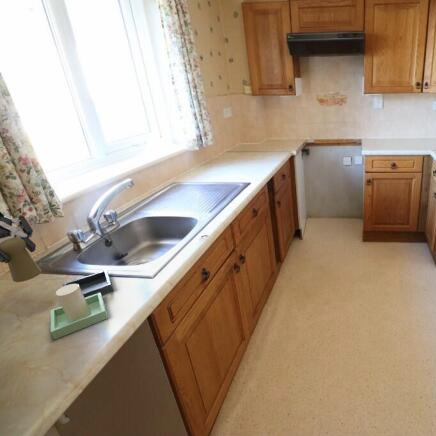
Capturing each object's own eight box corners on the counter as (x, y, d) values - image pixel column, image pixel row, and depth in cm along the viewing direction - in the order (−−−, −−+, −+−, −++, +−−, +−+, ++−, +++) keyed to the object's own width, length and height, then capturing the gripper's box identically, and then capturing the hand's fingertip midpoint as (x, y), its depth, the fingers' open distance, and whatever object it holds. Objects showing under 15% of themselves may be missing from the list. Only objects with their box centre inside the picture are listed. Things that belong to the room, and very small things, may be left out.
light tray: (54, 339, 80) (50, 332, 79) (53, 317, 88) (50, 310, 87) (108, 318, 87) (105, 310, 86) (103, 299, 94) (100, 292, 93)
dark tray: (67, 308, 91) (63, 301, 90) (65, 290, 99) (62, 283, 98) (113, 291, 98) (111, 284, 97) (109, 275, 105) (106, 269, 104)
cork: (46, 268, 91) (30, 233, 86) (32, 280, 86) (14, 244, 81) (22, 270, 90) (4, 236, 86) (7, 283, 85) (-13, 247, 80)
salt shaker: (69, 325, 84) (55, 298, 80) (68, 315, 88) (55, 288, 84) (92, 316, 87) (79, 289, 83) (90, 307, 90) (78, 281, 87)
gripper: (-66, 211, 75) (-12, 262, 76) (7, 191, 88) (53, 235, 89) (-66, 228, 79) (-14, 277, 80) (4, 207, 92) (48, 249, 93)
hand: (21, 255), depth 85 cm, fingers closed on cork, 5 cm apart
